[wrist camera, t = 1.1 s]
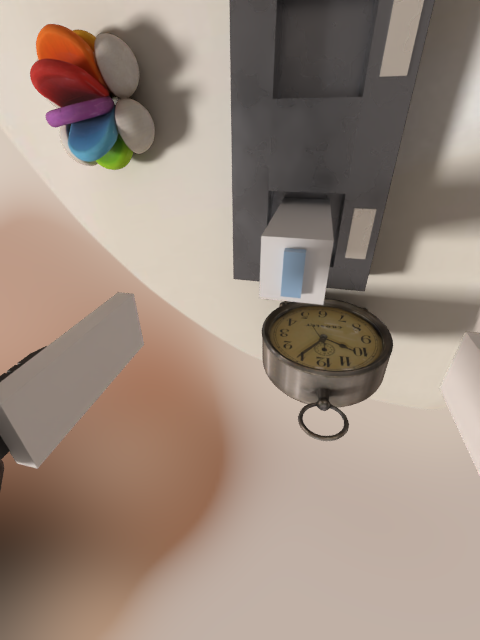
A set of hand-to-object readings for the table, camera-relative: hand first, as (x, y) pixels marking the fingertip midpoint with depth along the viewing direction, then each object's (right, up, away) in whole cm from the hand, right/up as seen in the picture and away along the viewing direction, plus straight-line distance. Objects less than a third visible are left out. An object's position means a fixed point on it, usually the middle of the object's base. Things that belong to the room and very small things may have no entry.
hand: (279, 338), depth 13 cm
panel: (+4, +15, +13) cm, 20 cm away
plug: (+4, +10, +15) cm, 19 cm away
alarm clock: (+7, +1, +21) cm, 22 cm away
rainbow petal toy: (-13, +20, +15) cm, 28 cm away
